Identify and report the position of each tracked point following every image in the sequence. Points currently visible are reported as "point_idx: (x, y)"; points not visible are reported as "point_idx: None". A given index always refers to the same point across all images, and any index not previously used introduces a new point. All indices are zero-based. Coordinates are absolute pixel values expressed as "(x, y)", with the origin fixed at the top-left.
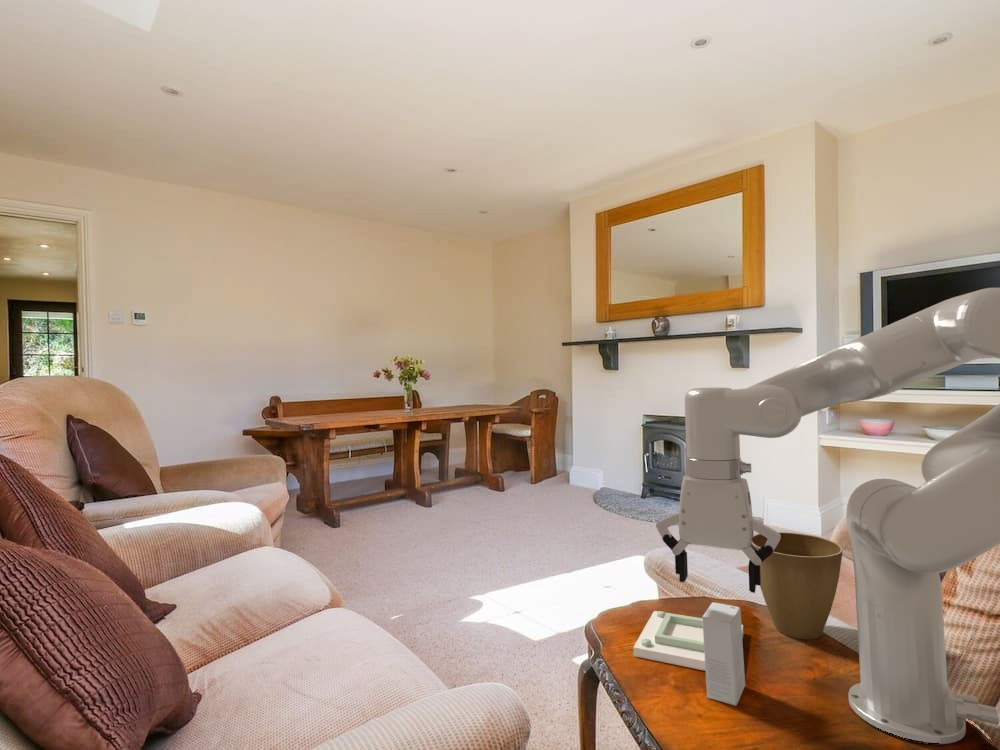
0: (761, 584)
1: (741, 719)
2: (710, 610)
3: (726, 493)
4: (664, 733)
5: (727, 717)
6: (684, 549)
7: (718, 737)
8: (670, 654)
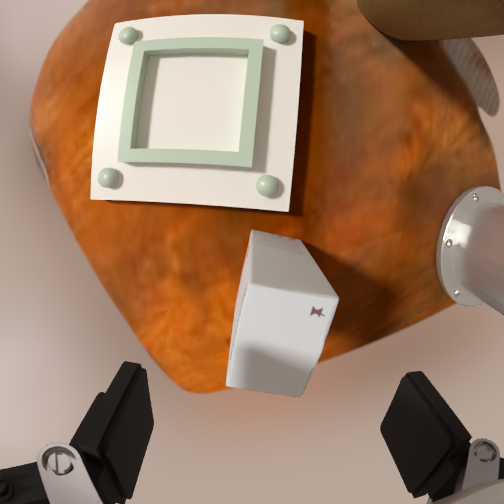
0: None
1: None
2: (246, 349)
3: None
4: (191, 385)
5: None
6: (102, 484)
7: None
8: (158, 201)
